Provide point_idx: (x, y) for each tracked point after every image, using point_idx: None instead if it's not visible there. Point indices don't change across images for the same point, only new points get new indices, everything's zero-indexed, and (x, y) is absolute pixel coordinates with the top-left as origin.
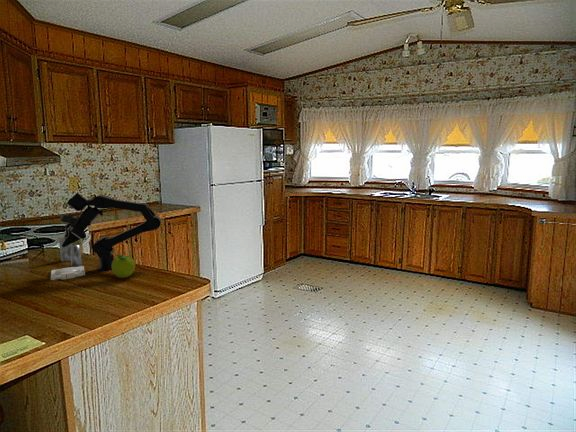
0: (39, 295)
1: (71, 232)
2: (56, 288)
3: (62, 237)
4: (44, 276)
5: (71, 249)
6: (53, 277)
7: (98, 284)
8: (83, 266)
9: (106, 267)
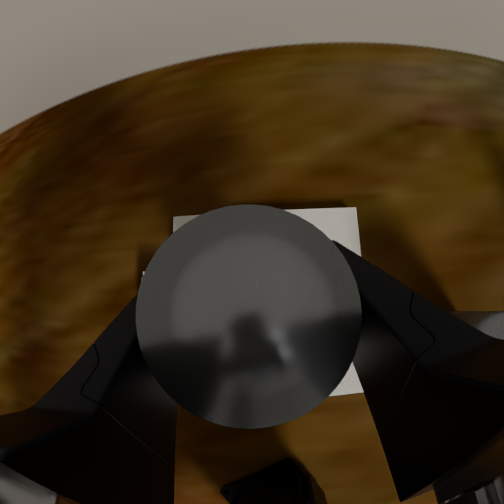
0: (6, 208)
1: (18, 484)
2: (39, 258)
3: (315, 276)
4: (286, 180)
5: (494, 329)
6: (174, 231)
7: (25, 409)
8: (350, 392)
9: (237, 500)
